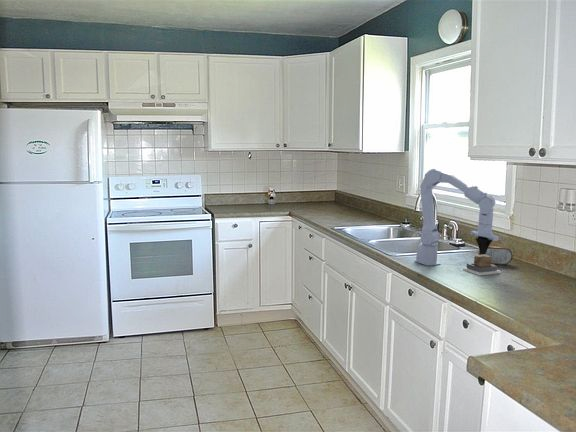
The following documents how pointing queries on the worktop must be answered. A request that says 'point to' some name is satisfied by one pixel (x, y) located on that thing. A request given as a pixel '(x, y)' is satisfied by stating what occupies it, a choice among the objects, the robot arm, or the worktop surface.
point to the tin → (499, 255)
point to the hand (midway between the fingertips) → (482, 254)
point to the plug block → (482, 260)
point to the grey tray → (481, 269)
